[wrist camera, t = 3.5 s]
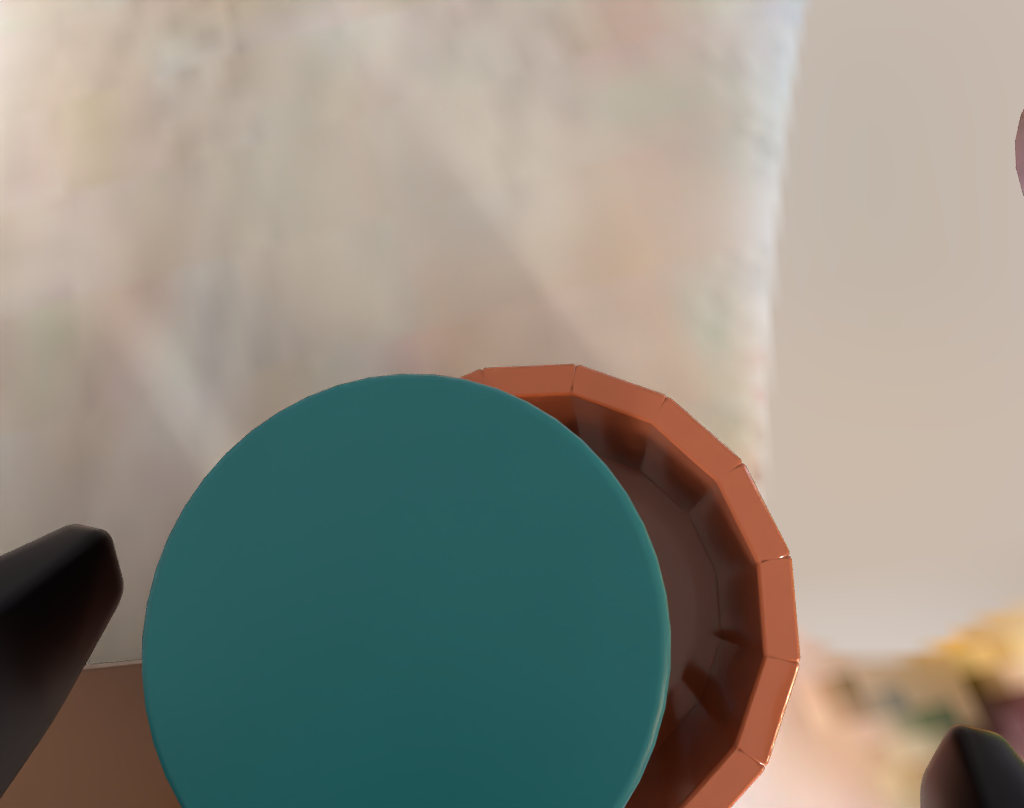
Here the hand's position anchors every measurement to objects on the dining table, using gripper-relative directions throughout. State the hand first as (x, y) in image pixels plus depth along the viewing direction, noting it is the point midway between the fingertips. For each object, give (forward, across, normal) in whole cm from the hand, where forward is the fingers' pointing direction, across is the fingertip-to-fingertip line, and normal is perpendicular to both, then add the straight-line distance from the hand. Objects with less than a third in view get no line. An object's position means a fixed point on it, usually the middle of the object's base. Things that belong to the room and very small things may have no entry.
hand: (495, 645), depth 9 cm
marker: (+6, 0, +6) cm, 8 cm away
